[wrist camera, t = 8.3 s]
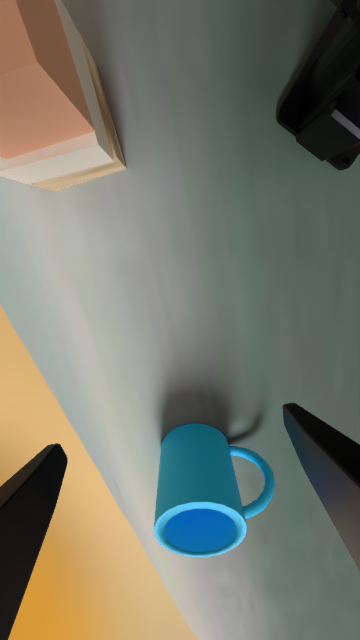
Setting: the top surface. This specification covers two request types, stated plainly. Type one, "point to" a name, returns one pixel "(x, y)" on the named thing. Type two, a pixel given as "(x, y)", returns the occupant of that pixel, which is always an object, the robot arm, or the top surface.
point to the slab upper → (73, 151)
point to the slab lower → (118, 158)
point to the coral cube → (37, 80)
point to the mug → (203, 492)
